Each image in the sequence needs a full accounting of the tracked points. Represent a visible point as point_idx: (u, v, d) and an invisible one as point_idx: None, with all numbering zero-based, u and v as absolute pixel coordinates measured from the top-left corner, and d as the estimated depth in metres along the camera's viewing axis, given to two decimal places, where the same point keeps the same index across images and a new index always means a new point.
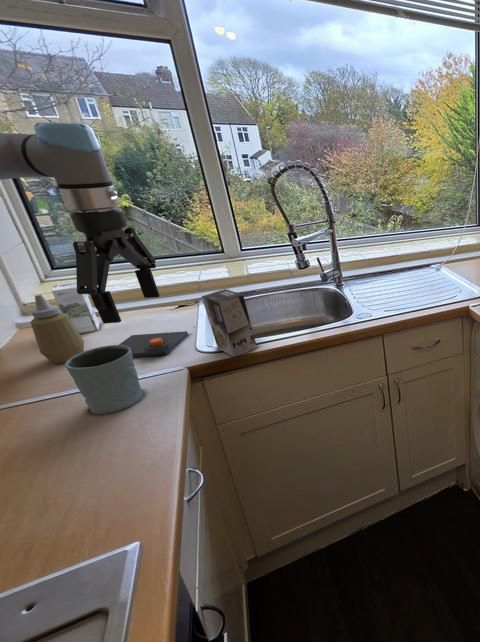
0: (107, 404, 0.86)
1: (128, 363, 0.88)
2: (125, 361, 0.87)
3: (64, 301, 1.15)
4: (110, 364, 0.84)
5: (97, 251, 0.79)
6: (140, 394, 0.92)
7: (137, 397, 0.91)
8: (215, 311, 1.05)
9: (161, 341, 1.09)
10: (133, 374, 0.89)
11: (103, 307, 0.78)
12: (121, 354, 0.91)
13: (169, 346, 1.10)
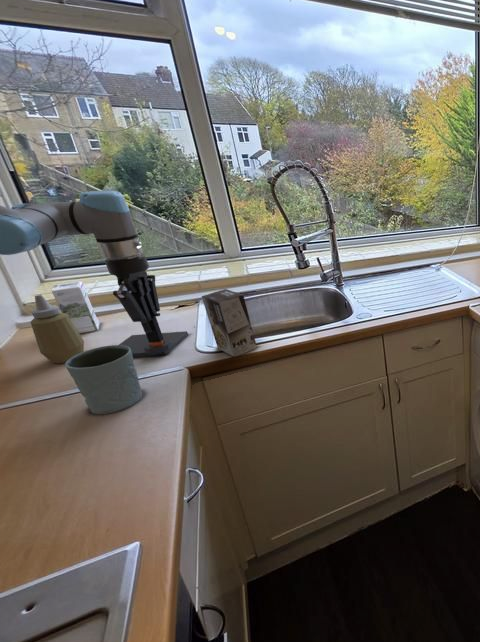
0: (107, 404, 0.86)
1: (128, 363, 0.88)
2: (125, 361, 0.87)
3: (64, 301, 1.15)
4: (110, 364, 0.84)
5: None
6: (140, 394, 0.92)
7: (137, 397, 0.91)
8: (215, 311, 1.05)
9: (162, 343, 1.09)
10: (133, 374, 0.89)
11: (150, 330, 1.06)
12: (121, 354, 0.91)
13: (169, 346, 1.10)
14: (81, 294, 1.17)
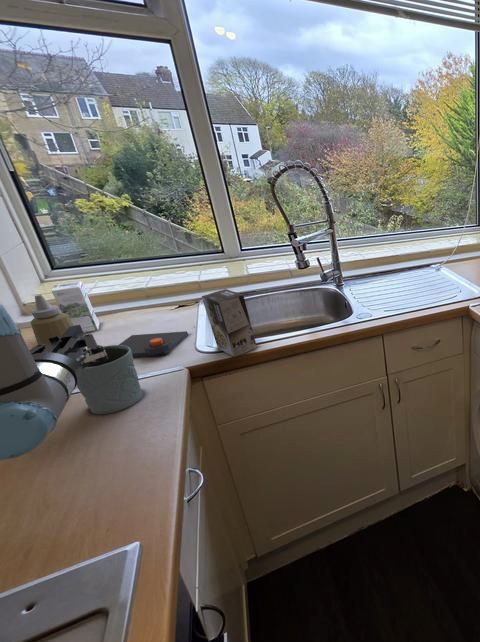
0: (107, 404, 0.86)
1: (128, 363, 0.88)
2: (125, 361, 0.87)
3: (64, 301, 1.15)
4: (110, 364, 0.84)
5: None
6: (140, 394, 0.92)
7: (137, 397, 0.91)
8: (215, 311, 1.05)
9: (161, 341, 1.09)
10: (133, 374, 0.89)
11: None
12: (121, 354, 0.91)
13: (169, 346, 1.10)
14: (81, 294, 1.17)
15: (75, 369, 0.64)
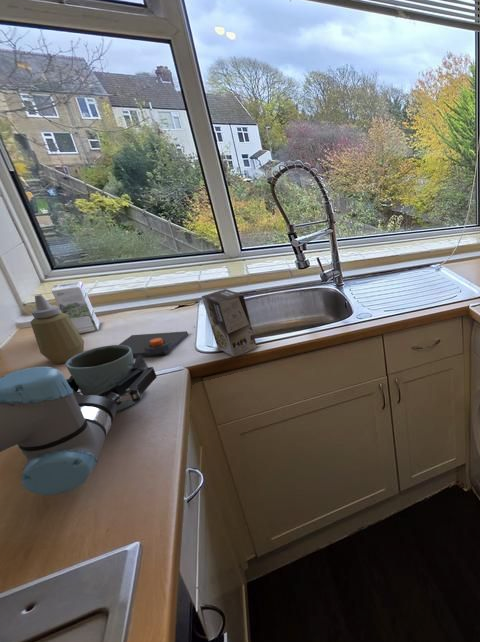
0: None
1: (128, 363, 0.88)
2: (126, 361, 0.87)
3: (64, 301, 1.15)
4: (110, 364, 0.84)
5: None
6: None
7: None
8: (215, 311, 1.05)
9: (161, 341, 1.09)
10: None
11: None
12: (121, 354, 0.91)
13: (169, 346, 1.10)
14: (81, 294, 1.17)
15: (112, 409, 0.77)
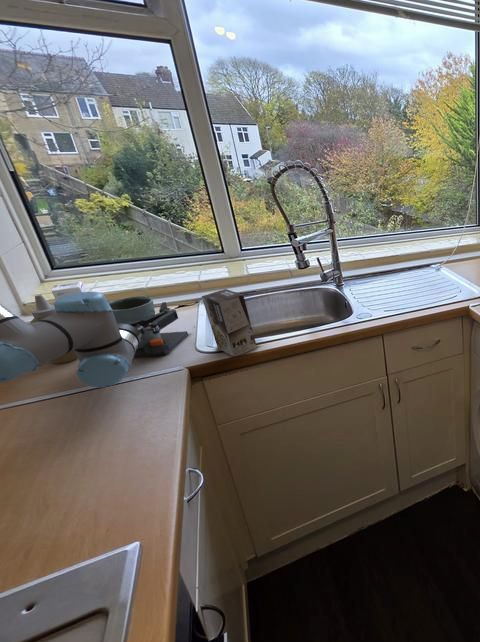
0: None
1: (150, 309, 1.10)
2: (148, 308, 1.09)
3: None
4: (137, 309, 1.06)
5: None
6: (159, 336, 1.14)
7: None
8: (215, 311, 1.05)
9: (161, 341, 1.09)
10: None
11: None
12: (144, 303, 1.13)
13: (169, 346, 1.10)
14: None
15: (138, 335, 0.99)
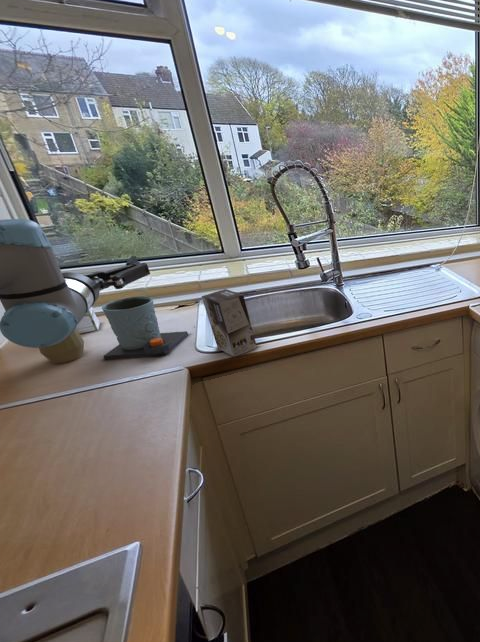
0: (134, 341, 1.08)
1: (150, 309, 1.10)
2: (148, 308, 1.09)
3: None
4: (137, 309, 1.06)
5: None
6: (159, 336, 1.14)
7: None
8: (215, 311, 1.05)
9: (161, 341, 1.09)
10: (154, 319, 1.12)
11: None
12: (144, 303, 1.13)
13: (169, 346, 1.10)
14: None
15: (94, 288, 0.77)
